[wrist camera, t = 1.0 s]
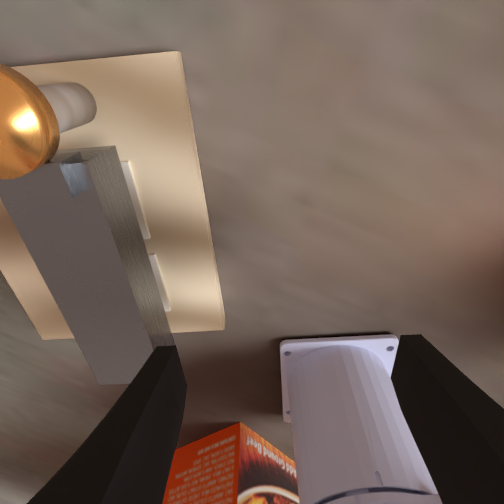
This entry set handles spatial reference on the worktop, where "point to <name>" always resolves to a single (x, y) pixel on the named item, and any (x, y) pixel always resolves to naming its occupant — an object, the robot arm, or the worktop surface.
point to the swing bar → (80, 234)
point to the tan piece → (131, 181)
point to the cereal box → (231, 471)
